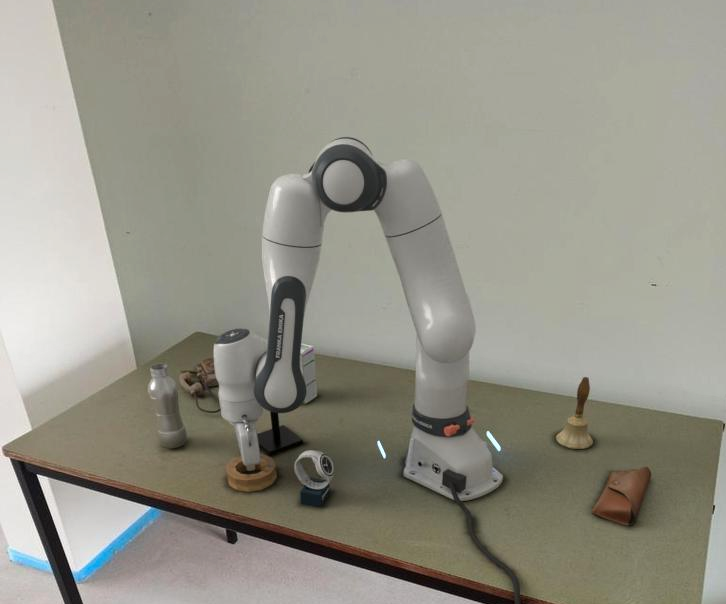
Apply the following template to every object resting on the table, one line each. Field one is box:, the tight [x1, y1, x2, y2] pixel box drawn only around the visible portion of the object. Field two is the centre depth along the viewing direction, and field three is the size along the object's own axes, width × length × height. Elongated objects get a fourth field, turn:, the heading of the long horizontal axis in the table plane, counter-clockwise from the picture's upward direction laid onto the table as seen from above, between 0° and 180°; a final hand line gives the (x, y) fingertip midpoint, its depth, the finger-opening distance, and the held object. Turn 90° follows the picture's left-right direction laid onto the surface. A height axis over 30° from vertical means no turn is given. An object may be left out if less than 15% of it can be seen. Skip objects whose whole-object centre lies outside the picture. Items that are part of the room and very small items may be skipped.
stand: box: [257, 411, 304, 457], centre depth 154 cm, size 9×9×17 cm
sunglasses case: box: [591, 466, 652, 527], centre depth 136 cm, size 18×7×7 cm
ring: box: [225, 453, 278, 493], centre depth 145 cm, size 11×11×3 cm
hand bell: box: [555, 376, 594, 450], centre depth 153 cm, size 8×8×16 cm
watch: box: [293, 449, 335, 509], centre depth 136 cm, size 6×8×11 cm
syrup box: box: [301, 342, 318, 405], centre depth 174 cm, size 6×6×14 cm
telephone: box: [178, 357, 221, 414], centre depth 182 cm, size 15×33×4 cm, turn 23°
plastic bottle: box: [147, 362, 188, 449], centre depth 153 cm, size 6×7×20 cm
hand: (248, 461), depth 148 cm, fingers open, 5 cm apart
